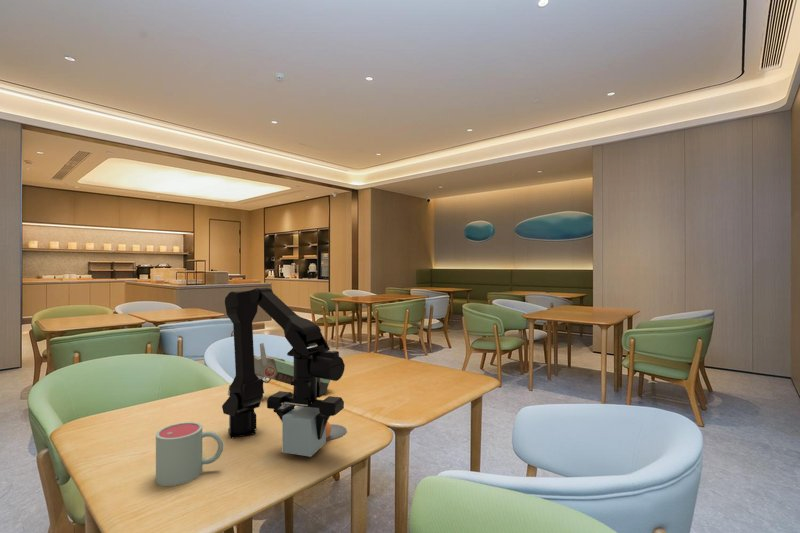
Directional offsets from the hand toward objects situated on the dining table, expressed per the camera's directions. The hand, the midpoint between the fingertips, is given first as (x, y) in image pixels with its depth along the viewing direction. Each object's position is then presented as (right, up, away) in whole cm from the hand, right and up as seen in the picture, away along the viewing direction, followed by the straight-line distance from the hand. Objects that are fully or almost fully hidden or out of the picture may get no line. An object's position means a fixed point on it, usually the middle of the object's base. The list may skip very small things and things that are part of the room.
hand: (305, 437), depth 100 cm
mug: (-23, -4, -10) cm, 26 cm away
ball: (+3, -1, +8) cm, 9 cm away
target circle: (+4, -4, +12) cm, 14 cm away
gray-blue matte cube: (0, -3, 0) cm, 3 cm away
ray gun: (-19, -4, +42) cm, 46 cm away
